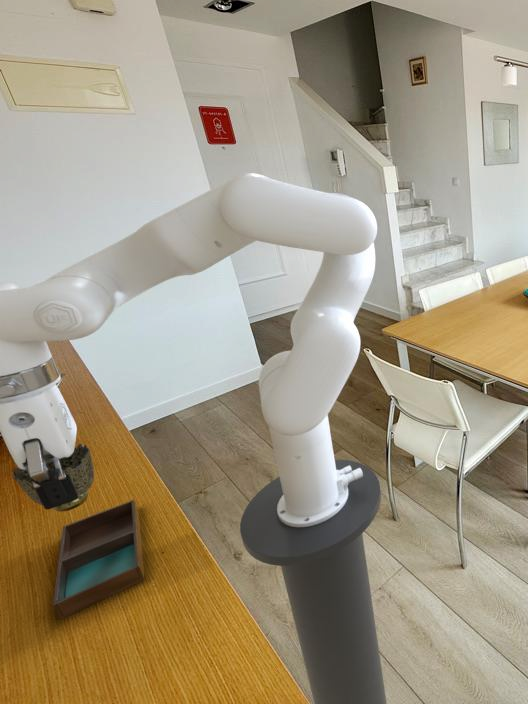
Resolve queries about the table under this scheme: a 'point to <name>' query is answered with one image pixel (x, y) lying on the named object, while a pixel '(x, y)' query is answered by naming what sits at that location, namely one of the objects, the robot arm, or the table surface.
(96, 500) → the table surface
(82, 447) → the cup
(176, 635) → the table surface
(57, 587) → the tray
